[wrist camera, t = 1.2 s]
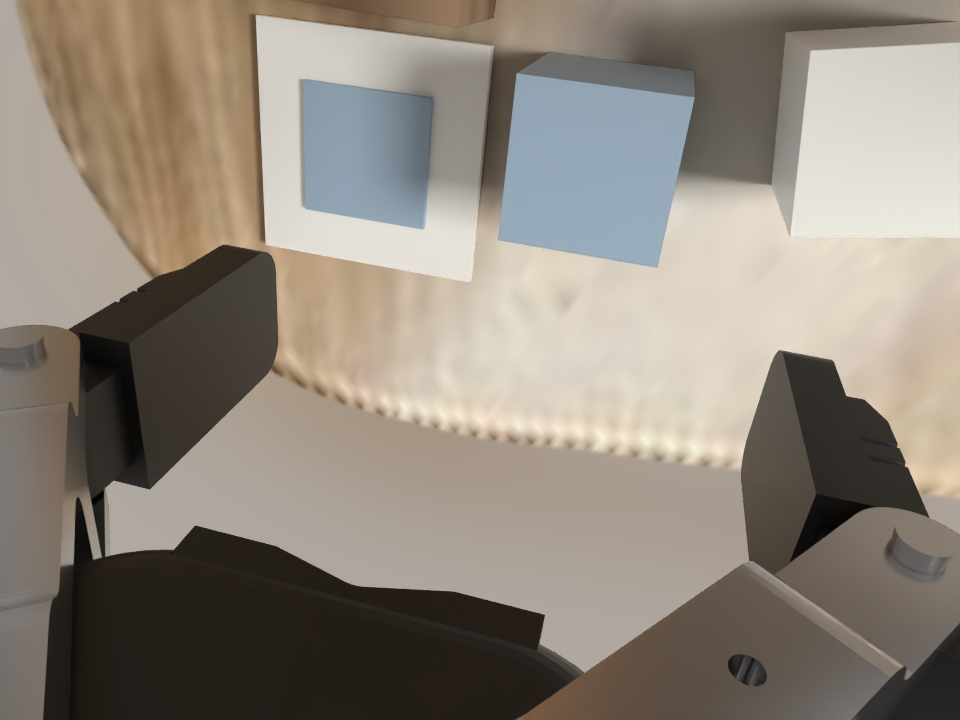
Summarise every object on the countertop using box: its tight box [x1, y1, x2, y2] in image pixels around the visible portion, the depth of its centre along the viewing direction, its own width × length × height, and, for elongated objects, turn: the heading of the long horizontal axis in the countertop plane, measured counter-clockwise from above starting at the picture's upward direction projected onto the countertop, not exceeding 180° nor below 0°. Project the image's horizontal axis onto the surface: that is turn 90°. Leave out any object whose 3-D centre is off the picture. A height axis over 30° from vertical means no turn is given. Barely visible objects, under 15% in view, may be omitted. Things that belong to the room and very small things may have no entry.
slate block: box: [498, 52, 695, 268], centre depth 25 cm, size 5×5×6 cm
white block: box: [771, 22, 960, 237], centre depth 23 cm, size 5×5×6 cm
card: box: [256, 15, 494, 282], centre depth 30 cm, size 9×9×1 cm
